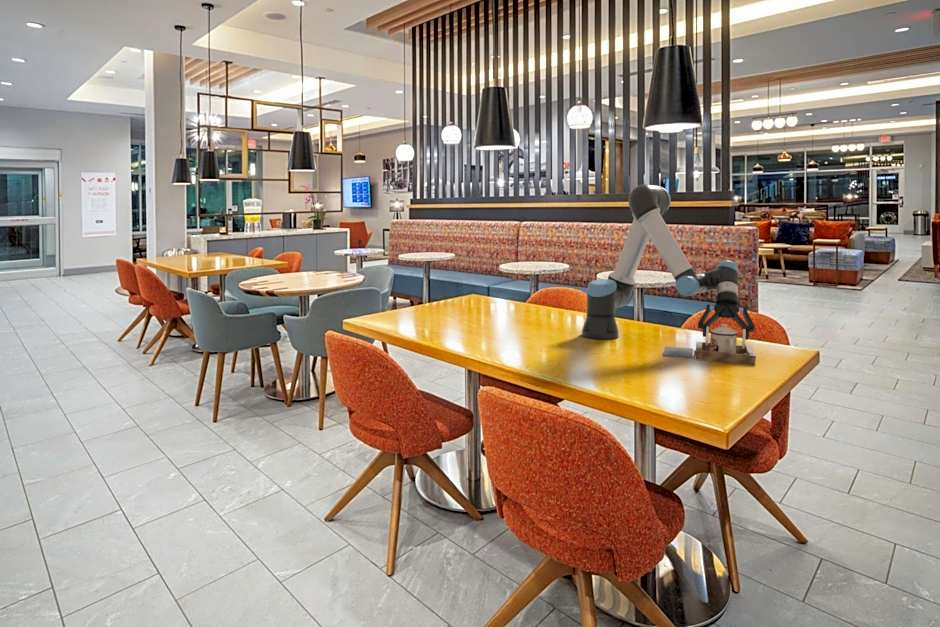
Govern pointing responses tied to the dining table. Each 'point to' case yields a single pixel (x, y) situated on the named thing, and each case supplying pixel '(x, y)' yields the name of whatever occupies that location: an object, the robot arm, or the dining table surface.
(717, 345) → the teacup with lid
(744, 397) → the dining table surface
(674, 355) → the charcoal rubber mat
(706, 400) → the dining table surface
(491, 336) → the dining table surface
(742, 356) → the walnut board
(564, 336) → the dining table surface
